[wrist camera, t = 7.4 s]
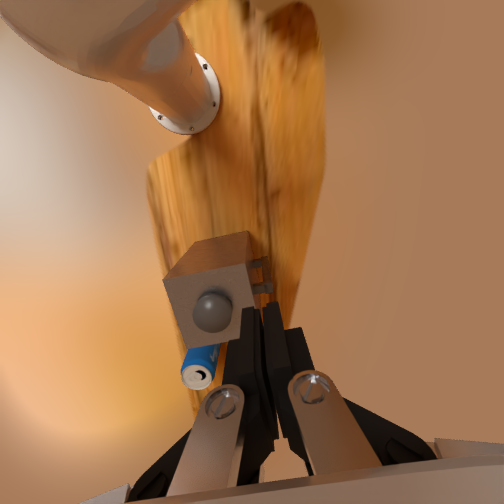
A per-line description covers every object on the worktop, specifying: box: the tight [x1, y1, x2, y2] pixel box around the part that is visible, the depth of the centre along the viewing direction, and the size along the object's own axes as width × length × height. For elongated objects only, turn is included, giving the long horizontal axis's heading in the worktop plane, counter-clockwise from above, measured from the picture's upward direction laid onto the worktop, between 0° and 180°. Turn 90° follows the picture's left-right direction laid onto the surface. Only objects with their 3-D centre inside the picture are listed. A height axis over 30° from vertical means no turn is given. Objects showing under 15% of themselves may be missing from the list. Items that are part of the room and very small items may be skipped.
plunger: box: [192, 293, 232, 333], centre depth 41 cm, size 9×9×19 cm
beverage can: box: [181, 343, 221, 390], centre depth 52 cm, size 6×6×12 cm
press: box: [163, 231, 274, 349], centre depth 43 cm, size 11×14×19 cm
